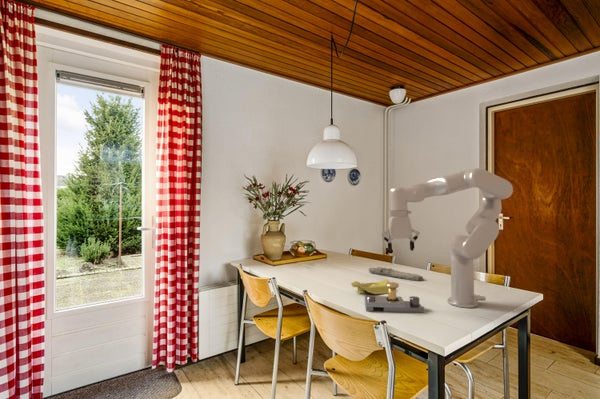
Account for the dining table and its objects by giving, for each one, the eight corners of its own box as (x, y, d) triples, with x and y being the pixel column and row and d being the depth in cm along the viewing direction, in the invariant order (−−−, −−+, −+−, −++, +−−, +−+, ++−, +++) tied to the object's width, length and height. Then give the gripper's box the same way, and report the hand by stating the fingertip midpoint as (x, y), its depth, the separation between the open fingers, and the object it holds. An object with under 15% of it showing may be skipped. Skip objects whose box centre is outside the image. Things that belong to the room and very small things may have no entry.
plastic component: (377, 282, 179) (388, 278, 171) (380, 296, 176) (392, 292, 168) (347, 284, 170) (358, 280, 162) (350, 299, 167) (361, 295, 159)
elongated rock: (418, 285, 186) (425, 282, 193) (419, 276, 186) (425, 273, 193) (365, 272, 209) (372, 270, 216) (365, 264, 209) (373, 263, 216)
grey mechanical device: (417, 305, 148) (417, 294, 148) (423, 312, 139) (423, 301, 139) (364, 304, 150) (364, 293, 150) (366, 311, 141) (366, 300, 141)
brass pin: (397, 306, 147) (397, 282, 147) (400, 310, 141) (399, 285, 141) (385, 306, 148) (384, 282, 148) (386, 310, 142) (386, 285, 142)
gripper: (416, 212, 153) (417, 248, 153) (379, 214, 154) (380, 250, 154) (420, 213, 145) (422, 251, 146) (381, 215, 147) (383, 253, 147)
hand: (401, 250), depth 150 cm, fingers open, 9 cm apart
